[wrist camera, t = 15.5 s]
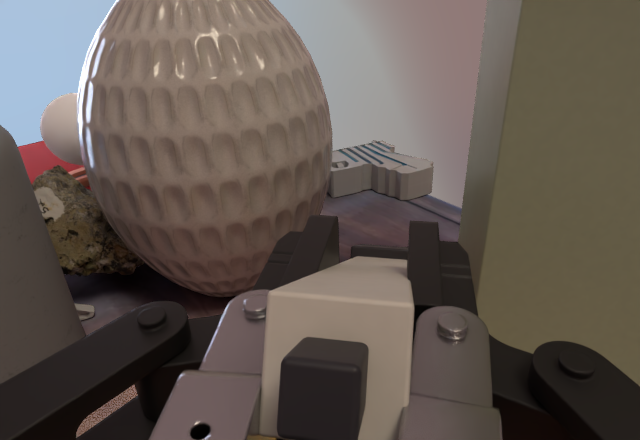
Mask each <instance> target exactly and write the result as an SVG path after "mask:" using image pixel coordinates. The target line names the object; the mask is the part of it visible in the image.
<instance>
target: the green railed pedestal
mask: <svg viewBox="0 0 640 440" xmlns="http://www.w3.org/2000/svg"><path fill="white" fill-rule="evenodd" d="M458 243H459V244H460V245H461V246H462V247H463V248H464V250H465V251H466V252H467V253H468V256H469V262H470V269H471V274H472V280H473V286H474V293H475V299H476V305H477V311H478V317H479V318H480V319H481V320H482V321H483V322H484V323H485V324H486V326H487V328H488V332H489V334H490V335H491V336H492V337H494V338H495V339H497V340H498V341H500V342H502V343H504V344H506V345H508V346H511V347H514V348H517V349H520V350H523V351H526V352H529V353H532V354H533V353H534V351H535V350H536V348H537V347H538V346H540V345H542V344H544V343H546V342H551V341H568V342H573V343H577V344H580V345H583V346H586V347H588V348H590V349H592V350H594V351H596V352H598V353H599V354H601V355H602V356H604V357H605V358H606V359H607V360H609V361H610V362H611V363H612V364H613V365H615V366H616V367H617V368H618V369H620V370H621V371H622V372H623V373H624V374H626V375H627V376H628V377H629V378H630V379H632V380H633V381H634V382H635V383H636V384H638V385H639V386H640V0H487V8H486V15H485V23H484V33H483V40H482V48H481V57H480V65H479V73H478V81H477V90H476V97H475V106H474V114H473V122H472V130H471V139H470V147H469V155H468V164H467V172H466V180H465V188H464V196H463V205H462V213H461V221H460V229H459V238H458Z"/></svg>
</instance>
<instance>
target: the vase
mask: <svg viewBox="0 0 640 440" xmlns="http://www.w3.org/2000/svg"><path fill="white" fill-rule="evenodd" d="M77 134H78V140H79V146H80V152H81V158H82V161H83V165H84V168H85V171H86V174H87V178H88V181H89V184H90V187H91V190H92V193H93V195H94V197H95V199H96V201H97V203H98V205H99V207H100V209H101V211H102V213H103V215H104V217H105V219H106V221H107V222H108V223H109V224H110V226H111V227H112V228H113V230H114V231H115V232H116V234H117V235H118V236H119V238H120V239H121V240H122V241H123V243H124V244H125V245H126V246H127V247H128V248H129V249H130V250H131V251H132V252H133V253H134V254H135V255H137V256H138V257H139V258H140V259H141V260H142V261H143V262H145V263H146V264H147V265H148V266H149V267H151V268H152V269H154V270H155V271H157V272H158V273H160V274H161V275H163V276H164V277H166V278H167V279H169V280H170V281H172V282H174V283H176V284H178V285H181V286H183V287H186V288H188V289H190V290H193V291H196V292H198V293H201V294H204V295H208V296H214V297H231V296H238V295H240V294H242V293H245V292H248V291H252V289H253V287H254V286H255V284H256V282H257V280H258V278H259V276H260V274H261V272H262V270H263V268H264V266H265V264H266V263H267V262H268V259H269V257H270V255H271V253H272V251H273V249H274V247H275V245H276V243H277V241H278V240H279V239H280V238H282V237H283V236H284V235H286V234H287V233H289V232H290V231H297V232H303V230H304V228H305V225H306V223H307V221H308V219H309V217H310V215H320V213H321V210H322V207H323V204H324V201H325V198H326V195H327V192H328V187H329V180H330V173H331V166H332V159H333V158H332V128H331V121H330V114H329V107H328V102H327V99H326V96H325V92H324V89H323V86H322V82H321V79H320V76H319V74H318V71H317V69H316V67H315V65H314V62H313V60H312V58H311V55H310V54H309V52H308V50H307V48H306V47H305V45H304V43H303V42H302V40H301V38H300V36H299V35H298V34H297V33H296V31H295V30H294V29H293V27H292V26H291V25H290V23H289V22H288V21H287V20H286V19H285V17H284V16H283V15H282V14H281V13H280V12H279V11H278V10H277V9H276V8H275V7H274V6H273V5H272V4H271V2H269V0H117V1H116V2H115V4H114V5H113V7H112V8H111V9H110V11H109V13H108V14H107V16H106V18H105V19H104V21H103V22H102V24H101V25H100V27H99V29H98V30H97V32H96V35H95V37H94V39H93V41H92V43H91V45H90V47H89V50H88V52H87V55H86V59H85V63H84V66H83V70H82V73H81V77H80V84H79V90H78V97H77Z"/></svg>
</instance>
